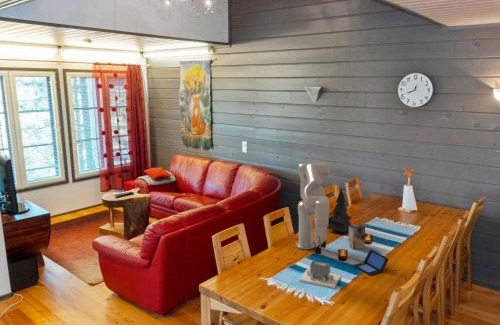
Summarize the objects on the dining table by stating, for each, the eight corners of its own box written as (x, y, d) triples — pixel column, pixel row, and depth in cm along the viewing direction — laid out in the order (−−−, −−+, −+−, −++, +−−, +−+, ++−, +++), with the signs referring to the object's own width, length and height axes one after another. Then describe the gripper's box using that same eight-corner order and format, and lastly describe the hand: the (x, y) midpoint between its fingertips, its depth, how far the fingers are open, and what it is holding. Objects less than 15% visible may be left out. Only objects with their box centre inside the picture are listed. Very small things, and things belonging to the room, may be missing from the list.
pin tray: (306, 271, 235) (306, 265, 234) (340, 277, 226) (340, 271, 225) (299, 281, 222) (299, 275, 222) (334, 288, 214) (334, 282, 213)
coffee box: (359, 246, 272) (360, 223, 269) (364, 249, 266) (365, 226, 263) (347, 247, 270) (348, 225, 267) (352, 251, 264) (353, 228, 261)
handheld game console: (352, 267, 240) (353, 252, 239) (369, 262, 246) (370, 248, 244) (370, 277, 226) (371, 262, 225) (388, 273, 232) (389, 258, 230)
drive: (312, 273, 228) (313, 260, 227) (329, 277, 224) (330, 263, 223) (310, 277, 224) (310, 263, 223) (327, 280, 220) (327, 267, 218)
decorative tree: (345, 237, 287) (347, 191, 281) (326, 233, 296) (327, 188, 289) (352, 232, 299) (354, 187, 293) (334, 228, 307) (336, 184, 301)
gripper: (319, 216, 227) (318, 243, 231) (310, 225, 212) (309, 255, 216) (332, 217, 224) (331, 246, 228) (324, 228, 209) (322, 258, 213)
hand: (320, 250), depth 222 cm, fingers open, 9 cm apart
